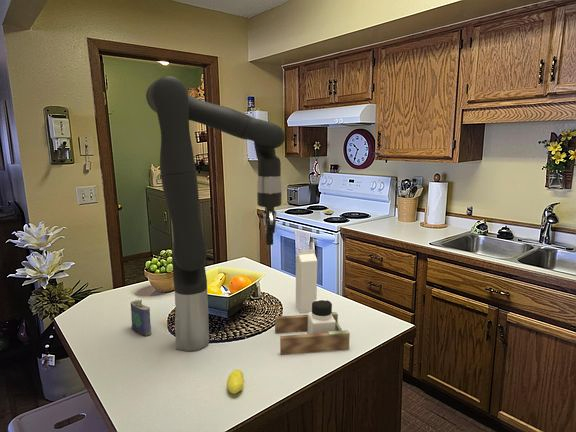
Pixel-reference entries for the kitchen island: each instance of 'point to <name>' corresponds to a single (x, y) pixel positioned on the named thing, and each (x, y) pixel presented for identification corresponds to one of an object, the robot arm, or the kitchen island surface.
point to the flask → (140, 318)
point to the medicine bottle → (321, 317)
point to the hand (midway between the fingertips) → (269, 244)
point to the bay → (309, 336)
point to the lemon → (235, 381)
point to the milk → (306, 280)
